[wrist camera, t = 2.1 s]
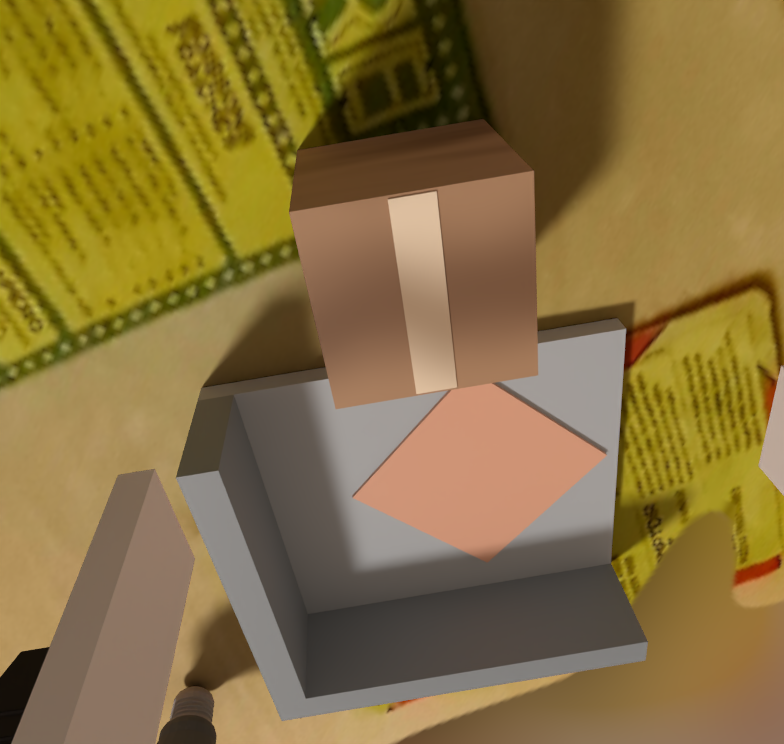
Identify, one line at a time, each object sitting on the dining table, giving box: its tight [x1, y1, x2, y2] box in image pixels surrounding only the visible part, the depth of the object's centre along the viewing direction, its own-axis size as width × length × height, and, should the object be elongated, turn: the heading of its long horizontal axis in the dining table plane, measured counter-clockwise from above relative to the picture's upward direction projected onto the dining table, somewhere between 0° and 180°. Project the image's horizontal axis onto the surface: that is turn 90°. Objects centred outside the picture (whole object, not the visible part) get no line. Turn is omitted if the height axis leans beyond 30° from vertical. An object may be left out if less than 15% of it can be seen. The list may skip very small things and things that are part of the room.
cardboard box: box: [289, 119, 538, 409], centre depth 23 cm, size 7×7×7 cm
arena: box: [176, 318, 648, 721], centre depth 31 cm, size 17×19×6 cm
